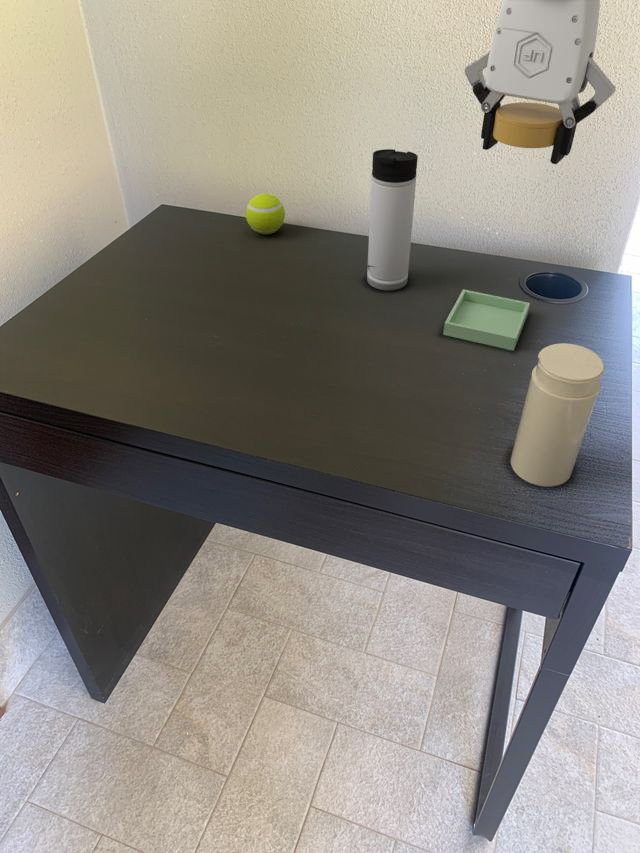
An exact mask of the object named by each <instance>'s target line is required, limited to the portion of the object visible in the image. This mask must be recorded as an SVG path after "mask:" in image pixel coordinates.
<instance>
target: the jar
mask: <svg viewBox="0 0 640 853" xmlns="http://www.w3.org/2000/svg"><path fill="white" fill-rule="evenodd" d="M537 359H538V360H537V363H536V365H535V366H534V368H533V369H532V371H531V376H530V379H529V383H528V387H527V391H526V395H525V398H524V403H523V407H522V411H521V415H520V419H519V424H518V427H517V431H516V435H515V440H514V444H513V448H512V452H511V456H510V465H511V468H512V470H513V471H514V473H515V474H516V475H517V476H518V477H519V478H521V479H522V480H524V482H528V483H529V484H532V485H535V486H539V487H546V488H547V487H556V486H560V485H562V484H565V483H567V481H569V479H570V478H571V476H572V474H573V470H574V467H575V465H576V462H577V459H578V456H579V452H580V450H581V447H582V444H583V441H584V438H585V435H586V432H587V429H588V426H589V424H590V420H591V417H592V414H593V411H594V409H595V405H596V402H597V400H598V397H599V393H600V391H601V387H602V383H601V377H602V376H603V375H604V372H605V365H604V362H603V360H602V358H601V357H600V356H599V355H598V353H596V352H595V351H593V350H591V349H589V348H587V347H584V346H582V345H578V344H575V343H567V342H566V343H565V342H561V343H554V344H550V345H547V346H546V347H544V348H542V349H541V350H540V351H539V352H538V355H537Z"/></svg>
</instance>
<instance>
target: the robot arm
mask: <svg viewBox="0 0 640 853" xmlns="http://www.w3.org/2000/svg"><path fill="white" fill-rule="evenodd" d="M600 8H601V0H502V1H501V5H500V8H499V12H498V15H497V19H496V24H495V27H494V32H493V36H492V41H491V44H490V49H489V51H487V52H485V53H484V54H483V55H482V56H480V57H479V58H477V59H476V60H474V61H473V62H471V63H470V64H468V65H466V67H464V74H465V76H466V78H467V80H468V83H469V85H470V86H471V87H472V93H473V95H474V96H475V97H476V99H477V101H478V103H479V104H480V109H481V112H483V113H484V114H483V119H482V127H481V133H480V138H481V139H482V140H483V142H482V150H485V151H488V150H490V149H491V148H493V147H494V146H496V145H497V144H498V143H499V141H497V140H496V139H495V138H494V137H493V129H494V123H495V116H496V110H497V109H498V108H499V107H500V106H502V104H501V103H502V101H503V100H504V99H505V98H506V97H512V98H513V97H514V98H518V99H524V100H530V101H535V102H543V103H548V104H555V105H556V104H557V105H558V109H560V112H561V116H562V119H563V121H562V125H560V126H559V127H558V128H557V132H556V137H555V141H554V145H553V146H552V152H551V156H550V159H549V162H550V163H551V164H552V165H557V164H559V163H560V162H561V161H562V160H563V159H564V158H565V156H566V157H567V156H569V155H570V153H571V150H572V147H573V143H574V138H575V135H576V134H575V133H576V131H577V130H576V129H577V126H578V124H579V123H580V122H582V121H583V120H585V119H586V118H588V116H590V115H592V114H593V113H594V112H595V111H596V110H597V109H599V107H601V106H602V105H603V104H604V103H605V102H606V101H608V99H610V98H611V97H612V96H613V95H614V94H615V93H616V90H617V88H616V86H615V85H614V84H613V82H612V81H611V80H610V78H609V77H608V76H607V75H606V74H605V72H604V71H603V70H602V68H600V66H599V65H598V64H597V63H596V61H595V60H594V55H595V48H596V42H597V36H598V28H599V20H600ZM484 70H486V71H485V75H484ZM588 83H589V84H590V86H591V87H592V89H594V95H593V96H592V97H591V98H590V99H589V100H587V101H586V102H584V103H583V104H582V105H581V101H580V99H579V98H580V97H579V94H580V93H583V92H584V91H585V90H586V88H587V86H588Z"/></svg>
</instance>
